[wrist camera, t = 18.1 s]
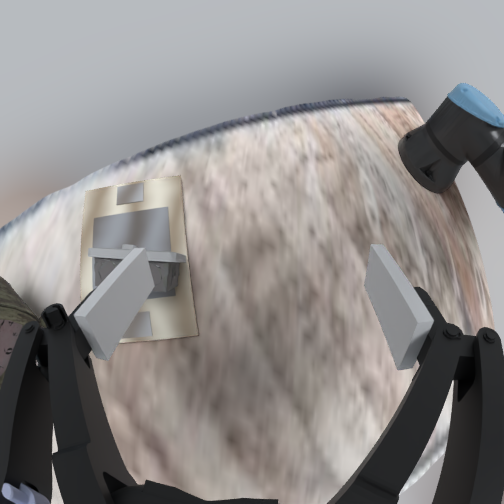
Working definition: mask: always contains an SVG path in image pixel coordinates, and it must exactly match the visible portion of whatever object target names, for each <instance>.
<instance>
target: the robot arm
mask: <svg viewBox="0 0 504 504" xmlns="http://www.w3.org/2000/svg"><path fill="white" fill-rule="evenodd" d="M399 153H400V156H401V159H402V161H403V163H404V164H405V166H406V168H407V169H408V171H409V172H410V173H411V175H412V176H413V177H414V178H415V179H416V180H417V181H418V182H419V183H420V184H421V185H423V186H424V187H425V188H427V189H428V190H430V191H432V192H436V193H442V192H444V191H445V190H447V189H448V188H449V187H450V186H451V185H452V183H453V181H454V180H455V178H456V176H457V174H458V172H459V170H460V168H461V167H462V165H464V164H465V163H466V162H467V161H469V162H470V163H471V165H472V166H473V167H474V168H475V170H476V171H477V173H478V174H479V176H480V177H481V179H482V180H483V182H484V183H485V185H486V186H487V188H488V189H489V191H490V192H491V194H492V196H493V197H494V199H495V201H496V203H497V205H498V206H499V207H500V208H501V210H502V211H503V213H504V115H503V114H502V113H501V112H500V110H499V109H498V108H497V106H496V105H495V104H494V103H493V102H492V101H491V100H490V99H489V98H487V97H486V96H485V95H484V94H483V93H481V92H480V91H479V90H477V89H476V88H474V87H473V86H471V85H469V84H466V83H460V84H458V85H457V86H456V87H455V88H454V89H453V90H452V91H451V93H448V96H447V98H446V99H445V100H444V101H443V103H442V104H441V105H440V106H439V108H438V109H437V110H436V111H435V112H434V114H433V115H432V116H431V118H430V119H429V120H428V121H427V122H426V123H425V124H424V125H422V126H420V127H418V128H416V129H414V130H412V131H410V132H408V133H407V134H405V135H404V137H403V138H402V139H401V140H400V142H399ZM364 286H365V289H366V291H367V293H368V296H369V298H370V300H371V303H372V305H373V307H374V310H375V312H376V315H377V317H378V320H379V322H380V325H381V327H382V330H383V332H384V335H385V337H386V340H387V343H388V345H389V348H390V351H391V353H392V356H393V359H394V362H395V365H396V367H397V370H403V369H409V368H413V366H414V364H415V362H416V360H418V362H419V365H420V366H419V368H418V370H417V372H416V374H415V376H414V377H413V379H412V382H411V384H410V386H409V388H408V390H407V392H406V394H405V396H404V398H403V400H402V401H401V403H400V405H399V407H398V409H397V410H396V412H395V414H394V416H393V417H392V419H391V421H390V422H389V424H388V425H387V427H386V429H385V430H384V432H383V433H382V435H381V436H380V438H379V439H378V441H377V442H376V444H375V445H374V447H373V448H372V450H371V451H370V452H369V454H368V455H367V457H366V458H365V459H364V461H363V462H362V463H361V465H360V466H359V467H358V469H357V470H356V471H355V472H354V474H353V475H352V476H351V477H350V479H349V480H348V481H347V482H346V483H345V485H344V486H343V487H342V488H341V489H340V490H339V492H338V493H337V494H336V495H335V496H334V497H333V498H332V499H331V500H330V501H329V502H328V503H327V504H397V502H398V500H399V493H400V491H401V489H402V488H403V486H404V484H405V483H406V481H407V479H408V478H409V476H410V474H411V473H412V471H413V469H414V468H415V466H416V464H417V462H418V460H419V458H420V457H421V455H422V453H423V451H424V449H425V447H426V445H427V443H428V441H429V439H430V437H431V434H432V432H433V430H434V428H435V425H436V423H437V421H438V418H439V416H440V414H441V411H442V409H443V406H444V403H445V401H446V398H447V395H448V392H449V389H450V386H451V383H452V380H454V388H453V402H452V413H451V421H450V429H449V435H448V442H447V447H446V452H445V458H444V463H443V467H442V471H441V475H440V479H439V482H438V486H437V489H436V493H435V496H434V499H433V502H432V504H501V501H502V496H503V491H504V355H503V349H502V344H501V339H500V337H499V335H498V334H497V333H496V331H494V330H493V329H490V328H487V327H483V328H481V329H480V330H479V331H478V333H477V335H476V336H470V335H464V334H463V332H462V330H461V329H460V328H459V327H457V326H456V325H454V324H450V323H447V322H446V321H445V319H444V318H443V316H442V314H441V313H440V311H439V310H438V308H437V307H436V306H435V304H434V302H433V301H432V300H431V298H430V296H429V295H428V293H427V292H426V291H424V290H423V289H422V288H420V287H413V286H412V285H411V283H410V282H409V280H408V279H407V277H406V276H405V274H404V273H403V272H402V270H401V269H400V267H399V266H398V264H397V263H396V262H395V260H394V259H393V257H392V256H391V255H390V253H389V252H388V250H387V249H386V248H385V246H384V245H383V244H371V246H370V253H369V260H368V266H367V272H366V278H365V284H364ZM154 287H155V285H154V281H153V278H152V274H151V270H150V266H149V262H148V258H147V254H146V250H145V248H134V249H133V250H132V251H131V252H130V253H129V254H128V255H127V256H126V257H125V258H124V259H123V260H122V261H121V262H120V263H119V264H118V266H117V267H116V268H115V269H114V270H113V271H112V272H111V273H110V274H109V275H108V276H107V277H106V278H105V279H104V281H103V282H102V283H101V284H100V285H99V286H98V287H97V288H95V289H94V290H92V291H91V292H90V293H89V294H88V295H87V296H86V297H85V299H83V300H82V302H81V304H79V305H78V306H77V307H76V309H75V310H74V311H73V312H72V313H71V314H70V316H69V317H68V316H67V314H66V311H65V309H64V307H63V305H62V304H58V303H56V304H52V305H50V306H48V307H47V308H46V309H44V311H43V312H42V314H41V317H42V319H43V321H44V323H45V324H46V326H47V328H41V326H40V325H39V323H38V322H37V321H31V322H28V323H26V324H25V325H24V326H23V327H22V329H21V331H20V333H19V336H18V338H17V341H16V343H15V346H14V348H13V351H12V354H11V357H10V360H9V363H8V365H7V369H6V372H5V375H4V378H3V381H2V385H1V389H0V504H51V499H52V463H53V467H54V471H55V475H56V479H57V483H58V486H59V489H60V493H61V496H62V499H63V502H64V504H278V499H251V498H239V499H230V500H218V501H206V500H203V499H200V498H198V497H195V496H193V495H191V494H188V493H186V492H184V491H182V490H180V489H178V488H175V487H172V486H168V485H164V484H160V483H156V482H153V481H149V480H146V481H145V484H144V485H138V484H137V483H136V481H135V480H134V479H133V477H132V476H131V475H130V474H129V472H128V471H127V469H126V467H125V465H124V462H123V460H122V458H121V455H120V453H119V450H118V448H117V445H116V443H115V440H114V437H113V434H112V432H111V429H110V426H109V423H108V420H107V417H106V414H105V411H104V407H103V404H102V401H101V397H100V393H99V390H98V386H97V382H96V378H95V374H94V370H93V365H92V360H91V358H90V356H89V355H88V354H89V353H90V351H91V350H92V351H93V353H94V355H95V356H96V358H99V359H103V360H107V361H108V360H109V359H110V357H111V355H112V353H113V352H114V350H115V348H116V347H117V345H118V343H119V342H120V340H121V338H122V337H123V335H124V334H125V332H126V330H127V329H128V327H129V325H130V324H131V322H132V321H133V319H134V317H135V316H136V314H137V313H138V311H139V310H140V308H141V307H142V305H143V303H144V302H145V300H146V299H147V297H148V296H149V294H150V293H151V291H152V290H153V288H154ZM36 360H37V361H38V366H36V362H35V361H36ZM53 423H54V429H55V435H56V441H57V446H58V452H55V453H53V454H52V435H53Z"/></svg>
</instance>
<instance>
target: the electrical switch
mask: <svg viewBox="0 0 504 504" xmlns="http://www.w3.org/2000/svg"><path fill="white" fill-rule="evenodd" d="M134 248H138V247H137V246H135V245H128V244H124V245H122V249H116V248H99V247H98V248H88V257H94V260H95V264H94V270H95V286H99V285H100V284H101V283H102V282H103V281H104V279H105V278H106V277H107V276H108V275H109V274H110V273H111V272H112V271H113V270H114V269H115V268H116V267H117V266H118V264H119V263H120V262H121V261H122V260H123V259H124V258H125V257H126V256H127V255H128V254H129V253H130V252H131V251H132V250H133V249H134ZM146 254H147V258H148V262H149V266H150V270H151V274H152V278H153V281H154V285H155V286H156V287H154V288H153V290H152V291H158V292H166V291H167V292H168V291H170V290H172V289H173V288H175V287H177V286H178V276H179V266H180V263H186V256H185V255H183V254H180V253H176V252H170V251H154V250H146Z"/></svg>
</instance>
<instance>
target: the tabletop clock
mask: <svg viewBox="0 0 504 504" xmlns="http://www.w3.org/2000/svg"><path fill="white" fill-rule="evenodd" d="M31 321H37V322H38V323H39V325H40V324H41V326H43V327H47V326H46V324H45V323H44V321H43V319H42V317H40V320H39V319H38V318H37V317H36V316H35V315H34V313H33V312H32V311H31V310H30V309H29V308H28V307H27V305H26V304H25V303H24V302H23V301H22V299H21V298H20V297H19V296H18V294H17V293H16V292H15V291H14V289H13V288H12V287H11V285H10V284H9V283H8V282H7V281H6V280H5V279H3V278H2V277H0V389H1V385H2V381H3V378H4V375H5V372H6V369H7V365H8V363H9V360H10V357H11V354H12V351H13V348H14V346H15V343H16V341H17V338H18V336H19V333H20V331H21V329H22V327H23V326H24V325H25V324H26V323H28V322H31Z"/></svg>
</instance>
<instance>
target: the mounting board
mask: <svg viewBox="0 0 504 504" xmlns="http://www.w3.org/2000/svg"><path fill="white" fill-rule="evenodd" d="M124 244H128V245H135V246H137V247H138V248H145V250H154V251H170V252H176V253H180V254H183V255H185V256H186V263H180V266H179V276H178V286H177V287H175V288H173V289H172V290H170V291H168V292H167V291H166V292H158V291H151V293H150V294H149V296H148V297H147V299H146V300H145V302H144V303H143V305H142V307H141V308H140V310H139V311H138V313H137V314H136V316H135V317H134V319H133V321H132V322H131V324H130V325H129V327H128V329H127V330H126V332H125V334H124V335H123V337H122V338H121V340H120V342H119V343H130V342H142V341H153V340H164V339H173V338H182V337H190V336H198V335H199V333H198V327H197V321H196V314H195V307H194V300H193V293H192V285H191V277H190V269H189V260H188V251H187V242H186V232H185V221H184V209H183V195H182V181H181V175H180V176H172V177H165V178H158V179H151V180H144V181H138V182H132V183H126V184H120V185H114V186H109V187H104V188H99V189H94V190H89V191H86V193H85V201H84V210H83V221H82V235H81V259H80V287H81V302H82V300H83V299H85V297H86V296H87V295H88V294H89V293H90V292H91V291H92V290H94V289H95V288H97V287H98V286H95V270H94V264H95V260H94V257H88V248H98V247H99V248H116V249H122V245H124ZM155 287H156V286H155Z"/></svg>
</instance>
